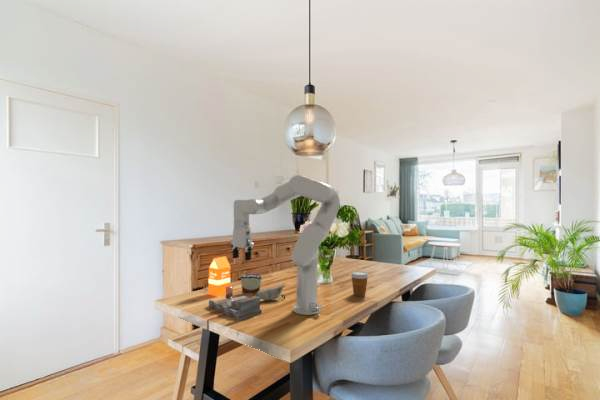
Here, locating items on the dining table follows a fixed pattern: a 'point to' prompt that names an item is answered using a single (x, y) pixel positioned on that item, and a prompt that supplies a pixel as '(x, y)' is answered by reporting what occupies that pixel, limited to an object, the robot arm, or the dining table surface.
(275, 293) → the decorative bird
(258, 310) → the nut press
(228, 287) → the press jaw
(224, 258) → the orange juice
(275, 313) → the dining table surface
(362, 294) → the disposable coffee cup
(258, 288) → the food container
